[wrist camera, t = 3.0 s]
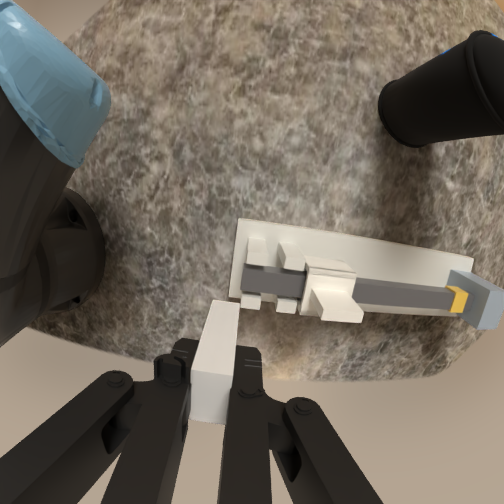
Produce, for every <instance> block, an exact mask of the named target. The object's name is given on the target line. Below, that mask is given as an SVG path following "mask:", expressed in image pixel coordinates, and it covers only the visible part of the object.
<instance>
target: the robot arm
mask: <svg viewBox="0 0 504 504" xmlns="http://www.w3.org/2000/svg"><path fill="white" fill-rule="evenodd" d="M110 106H111V95H110V91H109V88H108V86H107V84H106V83H105V82H104V81H103V80H102V79H101V78H100V77H99V76H98V75H97V74H96V73H95V72H94V71H93V70H92V69H91V68H90V67H88V66H87V65H86V64H85V63H84V62H83V61H82V60H81V59H80V58H78V57H77V56H76V55H75V54H74V53H73V52H72V51H71V50H70V49H68V48H67V47H66V46H65V45H64V44H63V43H62V42H61V41H59V40H58V39H57V38H56V37H55V36H54V35H53V34H51V33H50V32H49V31H48V30H47V29H46V28H44V27H43V26H42V25H41V24H39V23H38V22H37V21H36V20H35V19H34V18H33V17H31V16H30V15H29V14H28V13H27V12H26V11H24V10H23V9H22V8H21V7H20V6H18V5H17V4H16V3H15V2H14V1H12V0H0V347H1V346H2V345H4V344H5V343H6V342H7V341H8V340H10V339H11V338H12V337H13V336H15V335H16V334H17V333H19V332H20V331H21V330H22V329H24V328H25V327H26V326H27V325H29V324H30V323H31V322H32V321H34V320H35V319H36V318H38V317H39V316H41V315H47V314H53V313H59V312H65V311H69V310H72V309H74V308H76V307H78V306H80V305H81V304H82V303H83V302H85V301H86V300H87V299H88V298H90V297H91V296H92V295H93V293H94V292H95V291H96V289H97V288H98V286H99V284H100V281H101V279H102V276H103V272H104V266H105V246H104V240H103V235H102V231H101V228H100V225H99V223H98V220H97V218H96V216H95V214H94V212H93V211H92V209H91V208H90V206H89V205H88V204H87V202H86V201H85V200H84V199H83V198H82V197H81V196H80V195H79V194H77V193H76V192H74V191H73V190H71V189H69V188H66V185H67V183H68V181H69V179H70V178H71V176H72V174H73V173H74V171H75V169H76V168H78V167H80V166H81V165H82V164H83V162H84V159H85V153H86V151H87V149H88V147H89V146H90V144H91V142H92V140H93V139H94V137H95V135H96V134H97V132H98V130H99V129H100V127H101V126H102V124H103V122H104V121H105V119H106V117H107V115H108V113H109V110H110ZM239 308H240V303H234V302H227V301H219V300H213V301H212V304H211V307H210V311H209V314H208V317H207V320H206V323H205V326H204V329H203V333H202V336H201V339H200V341H199V340H192V339H187V338H181V339H180V340H178V341H177V342H175V345H174V347H173V350H172V351H171V353H170V354H163V355H160V356H158V357H156V358H155V360H154V380H151V381H144V382H138V381H133V379H132V378H131V376H130V375H129V374H127V373H126V372H122V371H116V370H115V371H114V370H113V371H108V372H106V373H104V374H102V375H101V376H100V377H99V378H97V379H96V380H95V381H94V382H92V383H91V384H90V385H89V386H88V387H87V388H85V389H84V390H83V391H82V392H80V393H79V394H78V395H77V396H75V397H74V398H73V399H72V400H70V401H69V402H68V403H67V404H66V405H64V406H63V407H62V408H61V409H60V410H58V411H57V412H56V413H55V414H53V415H52V416H51V417H50V418H49V419H47V420H46V421H45V422H44V423H42V424H41V425H40V426H39V427H38V428H36V429H35V430H34V431H33V432H32V433H31V434H29V435H28V436H27V437H25V438H24V439H23V440H22V441H21V442H19V443H18V444H17V445H16V446H14V447H13V448H12V449H11V450H10V451H9V452H7V453H6V454H5V455H3V456H2V457H1V458H0V504H77V503H78V502H79V501H80V500H81V499H82V497H83V496H84V495H85V494H86V493H87V492H88V490H89V489H90V488H91V487H92V486H93V485H94V484H95V482H96V481H97V480H98V479H99V478H100V477H101V475H102V474H103V473H104V472H105V471H106V470H107V468H108V467H109V466H110V465H111V464H112V462H113V461H114V460H115V459H116V458H117V457H118V455H119V454H120V453H121V455H120V457H119V460H118V462H117V464H116V467H115V469H114V472H113V474H112V476H111V479H110V481H109V484H108V486H107V489H106V491H105V494H104V496H103V499H102V501H101V504H171V500H172V496H173V492H174V487H175V483H176V478H177V474H178V469H179V465H180V460H181V456H182V452H183V447H184V443H185V438H186V434H187V430H188V419H189V415H190V420H197V421H202V422H209V423H216V424H224V425H225V432H224V439H223V451H222V460H221V470H220V479H219V480H220V481H219V489H218V500H217V504H272V493H271V475H270V456H269V449H270V450H272V453H273V456H274V458H275V461H276V463H277V466H278V468H279V471H280V473H281V475H282V477H283V480H284V483H285V485H286V487H287V490H288V492H289V494H290V497H291V499H292V501H293V504H383V502H382V501H381V499H380V498H379V496H378V495H377V493H376V492H375V490H374V489H373V487H372V486H371V484H370V483H369V481H368V480H367V479H366V477H365V475H364V474H363V472H362V471H361V470H360V468H359V466H358V465H357V463H356V462H355V460H354V459H353V458H352V456H351V454H350V453H349V451H348V450H347V448H346V447H345V445H344V443H343V442H342V440H341V439H340V437H339V436H338V434H337V433H336V431H335V430H334V428H333V426H332V425H331V423H330V422H329V420H328V419H327V417H326V416H325V414H324V412H323V411H322V409H321V408H320V406H319V405H318V404H317V403H316V402H315V401H313V400H311V399H308V398H304V397H296V398H292V399H290V400H289V401H287V403H283V402H280V401H277V400H274V399H272V398H271V397H269V396H268V395H267V394H266V393H265V390H264V389H263V379H262V362H261V361H262V359H261V353H260V352H259V350H258V349H257V348H255V347H247V346H239V345H236V339H237V329H238V318H239Z"/></svg>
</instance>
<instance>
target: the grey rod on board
mask: <svg viewBox="0 0 504 504" xmlns="http://www.w3.org/2000/svg"><path fill="white" fill-rule="evenodd" d="M303 255H305V256H312V257H319V258H327V259H334V260H341V261H344V262H345V263H346V264H347V265H348V266H349V267H350V268H351V269H352V270H354V271H355V272H356V273H357V277H356V281H355V285H354V289H353V293H352V298H353V300H354V301H355V302H356V303H357V305H358V306H359V307H360V308H361V309H362V311H366V312H380V313H394V314H411V315H431V316H457V315H458V316H460V317H461V318H462V319H464V320H465V321H466V322H468V323H469V324H470V325H471V326H473V327H474V328H475V329H477V330H480V329H496V328H497V326H498V323H499V321H500V318H501V315H502V313H503V310H504V290H503V289H502V288H500V287H498V286H496V285H494V284H492V283H490V282H488V281H486V280H485V279H483V278H481V277H479V276H477V275H475V274H473V273H471V269H472V265H473V261H474V259H473V258H471V257H468V256H463V255H458V254H453V253H448V252H443V251H438V250H433V249H428V248H423V247H417V246H412V245H407V244H401V243H396V242H390V241H385V240H379V239H373V238H367V237H362V236H356V235H350V234H344V233H338V232H331V231H325V230H319V229H312V228H306V227H299V226H293V225H286V224H279V223H272V222H265V221H258V220H251V219H244V218H239V219H238V226H237V234H236V241H235V249H234V257H233V265H232V273H231V280H230V289H229V297H234V298H241V304H240V308H248V309H256V310H260V304H261V301H265V302H274V303H275V309H276V312H282V313H291V314H295V311H296V306H297V301H296V299H295V297H302V296H303V291H304V286H305V282H306V277H307V271H304V266H305V261H306V258H305V257H304V256H303Z"/></svg>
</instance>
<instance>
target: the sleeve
mask: <svg viewBox="0 0 504 504" xmlns="http://www.w3.org/2000/svg"><path fill="white" fill-rule="evenodd" d="M303 256H304V257H305V258H306V261H305V266H304V271H307V277H306V282H305V286H304V291H303V296H302V297H295V299H296V301H297V308H298V311H299V314H300V315H305V316H316V317H320V319H321V320H326V321H339V322H353V323H361V322H362V319H363V315H364V312H363V311H362V309H361V308H360V307H359V306H358V305H357V303H356V302H355V301H354V300H353V298H352V293H353V289H354V285H355V281H356V277H357V273H356V272H355V271H354V270H352V269H351V268H350V267H349V266H348V265H347V264H346V263H345V262H344V261H341V260H334V259H327V258H319V257H312V256H305V255H303Z"/></svg>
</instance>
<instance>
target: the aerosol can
mask: <svg viewBox="0 0 504 504" xmlns="http://www.w3.org/2000/svg"><path fill="white" fill-rule="evenodd" d="M379 112H380V116H381V119H382V122H383V124H384V126H385V128H386V129H387V130H388V132H389V133H390V134H391V135H392V136H393V137H394V138H395V139H396V140H397V141H399V142H400V143H402V144H404V145H406V146H409V147H413V148H419V147H423V146H425V145H427V144H430V143H436V142H443V141H450V140H457V139H465V138H474V137H482V136H492V135H503V134H504V41H503V40H502V39H500V38H498V37H497V36H495V35H494V34H492V33H490V32H487V31H483V30H479V31H474V32H473V33H471V34H470V36H469V37H468V39H467V40H465V41H463V42H462V43H460V44H458V45H456V46H454V47H452V48H451V49H449V50H447V51H445V52H444V53H442V54H440V55H438V56H437V57H435V58H433V59H431V60H430V61H428V62H426V63H425V64H423V65H421V66H420V67H418V68H416V69H415V70H413V71H411V72H410V73H408V74H406V75H405V76H403V77H401V78H400V79H398V80H393V81H391V82H389V83H388V84H386V85H385V87H384V88H383V89H382V91H381V94H380V97H379Z"/></svg>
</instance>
